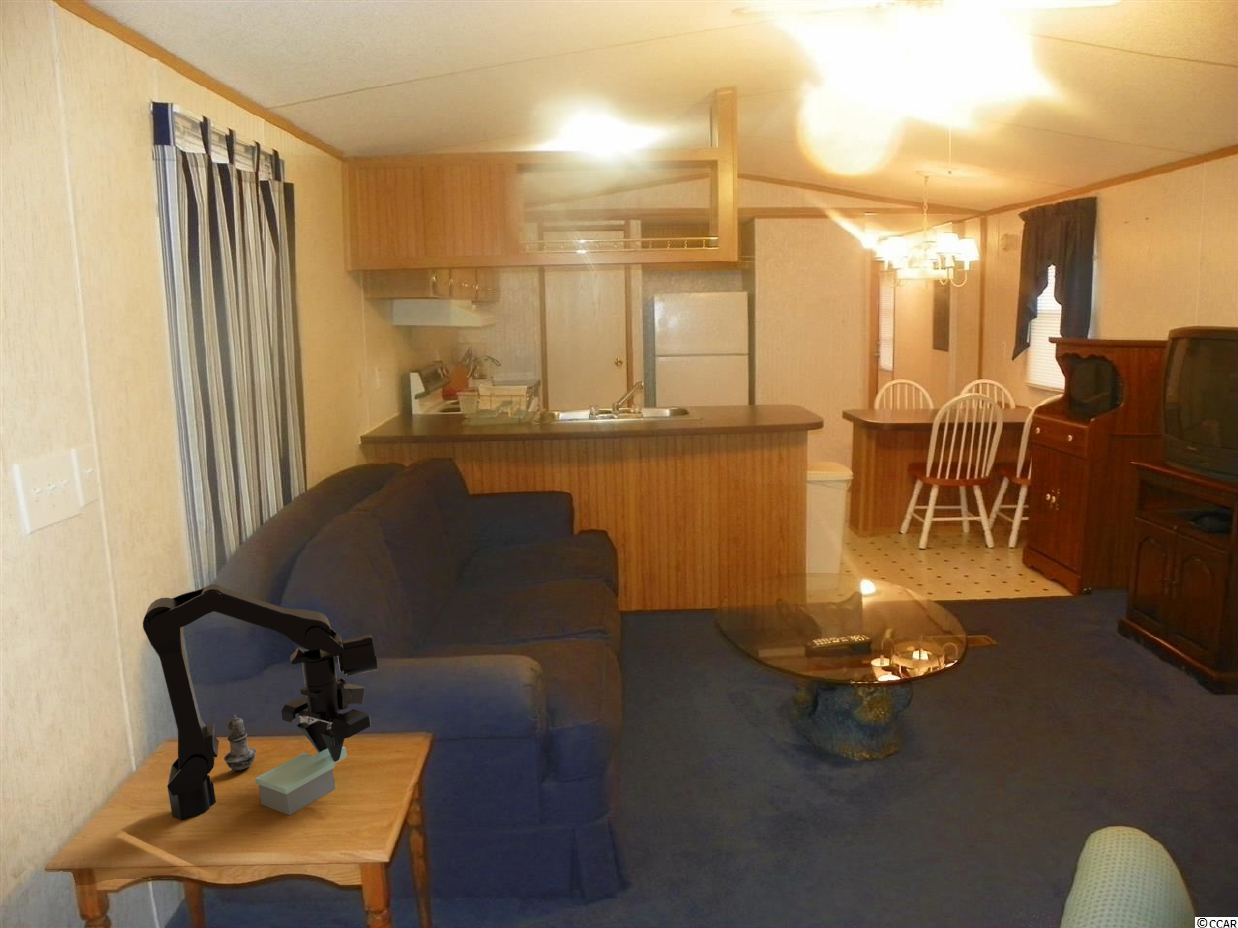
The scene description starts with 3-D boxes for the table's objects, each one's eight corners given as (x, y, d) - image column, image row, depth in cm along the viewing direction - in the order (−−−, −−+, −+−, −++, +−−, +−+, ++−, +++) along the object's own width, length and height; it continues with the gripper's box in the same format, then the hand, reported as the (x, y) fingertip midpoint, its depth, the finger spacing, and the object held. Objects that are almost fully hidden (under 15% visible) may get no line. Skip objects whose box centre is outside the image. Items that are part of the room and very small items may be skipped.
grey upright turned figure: (264, 767, 180) (256, 710, 178) (238, 781, 175) (230, 723, 173) (246, 761, 183) (238, 705, 181) (220, 775, 178) (211, 717, 176)
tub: (290, 819, 160) (286, 792, 159) (262, 808, 164) (258, 782, 163) (335, 792, 168) (332, 767, 167) (307, 782, 172) (304, 758, 172)
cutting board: (286, 799, 159) (285, 788, 158) (256, 788, 163) (255, 777, 163) (356, 760, 171) (355, 750, 171) (326, 750, 176) (325, 740, 176)
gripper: (388, 672, 171) (397, 750, 173) (323, 657, 181) (332, 731, 183) (340, 695, 161) (351, 777, 164) (275, 678, 172) (285, 755, 174)
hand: (330, 758), depth 172 cm, fingers closed on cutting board, 3 cm apart
